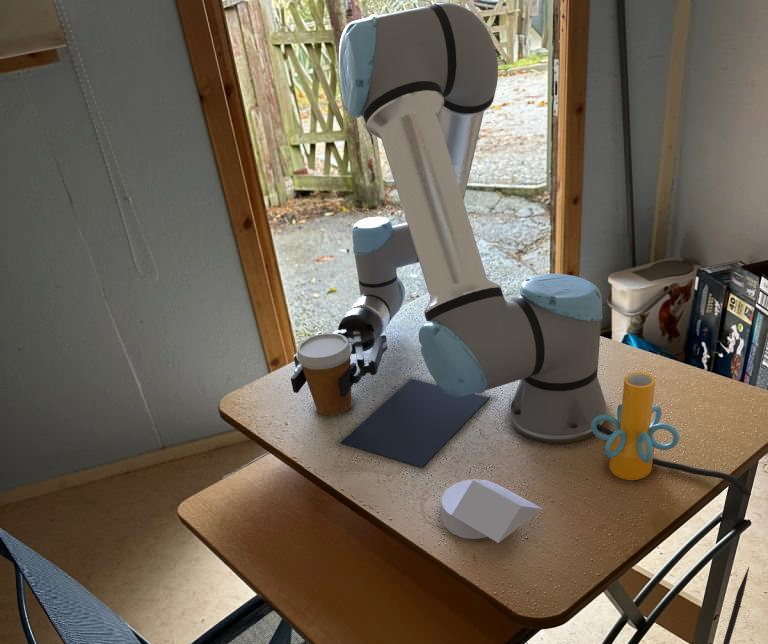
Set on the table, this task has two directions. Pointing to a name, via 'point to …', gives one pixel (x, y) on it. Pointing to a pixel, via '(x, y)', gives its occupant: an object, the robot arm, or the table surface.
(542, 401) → the robot arm
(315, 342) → the disposable coffee cup
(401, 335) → the table surface
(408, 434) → the mat
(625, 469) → the yellow tube with rings
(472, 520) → the wedge on round base
